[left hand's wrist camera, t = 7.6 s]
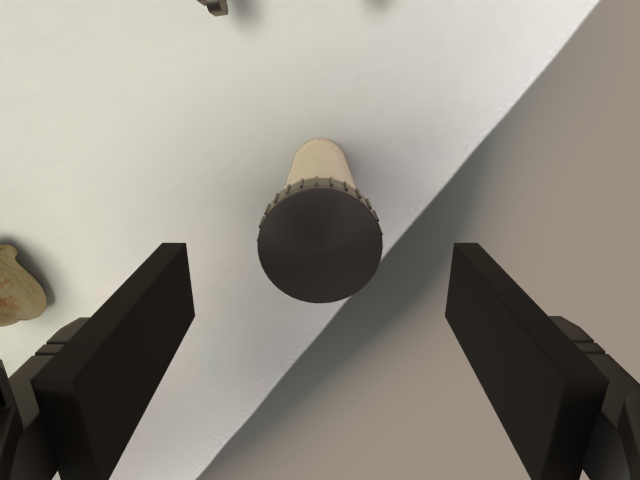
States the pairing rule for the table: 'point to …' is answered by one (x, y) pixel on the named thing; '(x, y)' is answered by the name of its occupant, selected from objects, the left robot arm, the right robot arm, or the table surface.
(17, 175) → the table surface
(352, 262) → the lid
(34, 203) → the table surface
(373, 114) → the table surface
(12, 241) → the table surface
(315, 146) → the jar
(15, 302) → the sculpture
